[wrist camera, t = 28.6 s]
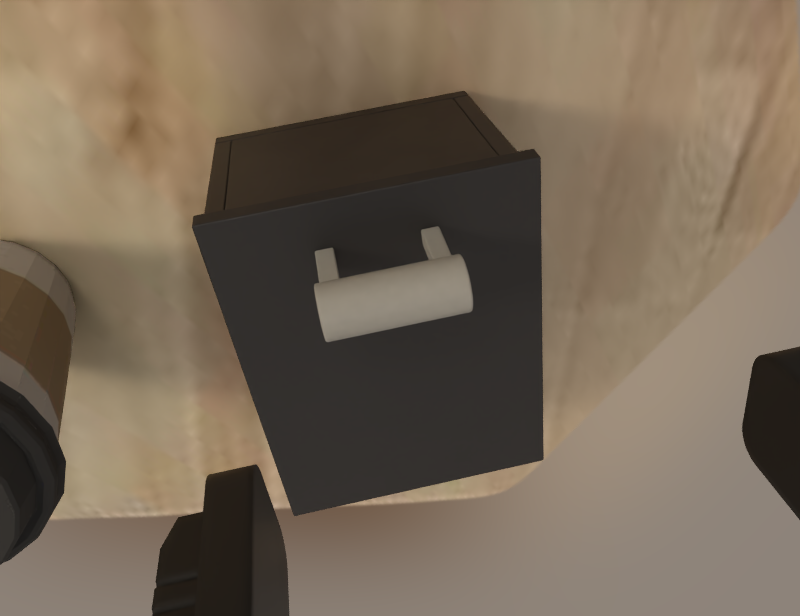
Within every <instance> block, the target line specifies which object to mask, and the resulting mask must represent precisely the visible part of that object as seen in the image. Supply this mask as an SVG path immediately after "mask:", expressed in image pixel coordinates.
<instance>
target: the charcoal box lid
mask: <svg viewBox="0 0 800 616" xmlns="http://www.w3.org/2000/svg"><path fill="white" fill-rule="evenodd" d="M192 228H193V231H194V234H195V237H196V240H197V242H198V245H199V248H200V251H201V254H202V257H203V259H204V262H205V265H206V268H207V271H208V274H209V276H210V279H211V282H212V285H213V288H214V291H215V293H216V296H217V299H218V302H219V305H220V308H221V310H222V313H223V316H224V319H225V322H226V325H227V327H228V330H229V333H230V336H231V339H232V342H233V345H234V347H235V350H236V353H237V356H238V359H239V362H240V364H241V367H242V370H243V373H244V376H245V379H246V381H247V384H248V387H249V390H250V393H251V396H252V398H253V401H254V404H255V407H256V410H257V413H258V415H259V418H260V421H261V424H262V427H263V430H264V432H265V435H266V438H267V441H268V444H269V447H270V449H271V452H272V455H273V458H274V461H275V464H276V466H277V469H278V472H279V475H280V478H281V481H282V483H283V486H284V489H285V492H286V495H287V498H288V500H289V503H290V506H291V509H292V512H293V514H294V516H297V515H301V514H306V513H310V512H315V511H319V510H323V509H327V508H332V507H337V506H341V505H346V504H350V503H355V502H359V501H364V500H368V499H372V498H377V497H381V496H386V495H390V494H395V493H399V492H403V491H408V490H412V489H417V488H421V487H426V486H430V485H434V484H439V483H443V482H448V481H452V480H457V479H461V478H466V477H470V476H474V475H479V474H483V473H488V472H492V471H497V470H501V469H505V468H510V467H514V466H519V465H523V464H528V463H532V462H536V461H541V460H543V363H542V260H541V158H540V156H539V155H538V154H537V152H536V151H535V150H534V149H530V150H525V151H520V152H514V153H509V154H504V155H499V156H494V157H489V158H484V159H479V160H474V161H469V162H464V163H459V164H454V165H449V166H444V167H439V168H434V169H428V170H423V171H418V172H413V173H408V174H403V175H398V176H393V177H388V178H383V179H378V180H373V181H368V182H363V183H358V184H353V185H348V186H343V187H337V188H332V189H327V190H322V191H317V192H312V193H307V194H302V195H297V196H292V197H287V198H282V199H277V200H272V201H267V202H262V203H257V204H251V205H246V206H241V207H236V208H231V209H226V210H221V211H216V212H211V213H206V214H201V215H196V216H194V217H193V224H192Z"/></svg>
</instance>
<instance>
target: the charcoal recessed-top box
mask: <svg viewBox="0 0 800 616" xmlns="http://www.w3.org/2000/svg"><path fill="white" fill-rule="evenodd" d="M514 152H517V151H516V149H515V148H514V147H513V146H512V145H511V144H510V143H509V141H508V140H507V139H506V138H505V137H504V136H503V135H502V133H501V132H500V131H499V130H498V129H497V128H496V127H495V125H494V124H493V123H492V122H491V121H490V120H489V118H488V117H487V116H486V115H485V114H484V113H483V112H482V110H481V109H480V108H479V107H478V106H477V105H476V104H475V102H474V101H473V100H472V99H471V98H470V97H469V96H468V94H467V93H466V92H465V91H461V92H456V93H451V94H446V95H440V96H435V97H430V98H425V99H420V100H414V101H409V102H404V103H399V104H393V105H388V106H383V107H378V108H373V109H367V110H362V111H357V112H352V113H346V114H341V115H336V116H331V117H326V118H320V119H315V120H310V121H305V122H299V123H294V124H289V125H284V126H278V127H273V128H268V129H263V130H258V131H252V132H247V133H242V134H237V135H231V136H226V137H221V138H217V139H216V143H215V150H214V156H213V162H212V169H211V175H210V182H209V188H208V194H207V201H206V207H205V214H206V213H211V212H216V211H221V210H226V209H231V208H236V207H241V206H246V205H251V204H257V203H262V202H267V201H272V200H277V199H282V198H287V197H292V196H297V195H302V194H307V193H312V192H317V191H322V190H327V189H332V188H337V187H343V186H348V185H353V184H358V183H363V182H368V181H373V180H378V179H383V178H388V177H393V176H398V175H403V174H408V173H413V172H418V171H423V170H428V169H434V168H439V167H444V166H449V165H454V164H459V163H464V162H469V161H474V160H479V159H484V158H489V157H494V156H499V155H504V154H509V153H514Z"/></svg>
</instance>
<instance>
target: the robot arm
mask: <svg viewBox="0 0 800 616" xmlns="http://www.w3.org/2000/svg"><path fill="white" fill-rule="evenodd" d="M742 432H743V438H744V442H745V446H746V448H747V451H748V453H749V455H750V457H751V459H752V460H753V462H754V463H755V465H756V466H757V467H758V468H759V470H760V471H761V472H762V473H763V475H764V476H765V477H766V478H767V479H768V481H769V482H770V483H771V485H772V486H773V487H774V488H775V490H776V491H777V492H778V493H779V495H780V496H781V497H782V498H783V500H784V501H785V502H786V503H787V505H788V506H789V507H790V508H791V510H792V511H793V512H794V513H795V515H796V516H797V517H798V518H799V520H800V347H796V348H791V349H787V350H783V351H778V352H773V353H769V354H765V355H760V356H758V357H757V358H756V359H755V361H754V363H753V367H752V373H751V378H750V384H749V390H748V396H747V401H746V407H745V413H744V419H743V426H742ZM156 585H157V587H156V588H155V590H154V598H153V605H152V611H153V616H289V596H288V571H287V559H286V551H285V546H284V540H283V536H282V532H281V529H280V525H279V522H278V520H277V517H276V514H275V511H274V508H273V505H272V503H271V500H270V497H269V494H268V491H267V488H266V486H265V483H264V480H263V477H262V474H261V472H260V469H259V467H258V466H257V465H251V466H247V467H242V468H237V469H233V470H228V471H224V472H219V473H215V474H210V475H208V476H207V479H206V484H205V496H204V508H203V512H200V513H196V514H191V515H187V516H182V517H178V519H177V520H176V522H175V524H174V526H173V528H172V529H171V531H170V533H169V535H168V537H167V538H166V540H165V542H164V543H163V545H162V547H161V549H160V555H159V562H158V569H157V576H156Z"/></svg>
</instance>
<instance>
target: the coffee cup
mask: <svg viewBox="0 0 800 616" xmlns="http://www.w3.org/2000/svg"><path fill="white" fill-rule="evenodd" d="M75 318H76V307H75V304H74V298H73V295H72V292H71V289H70V286H69V283H68V281H67V280H66V278H65V277H64V276H63V275H62V273H61V272H60V271H59V269H58V268H57V267H56V265H54V264H53V263H52V262H50V261H49V260H48V259H46V258H45V257H44V256H42V255H41V254H40V253H38V252H36V251H34V250H32V249H29V248H27V247H24V246H22V245H20V244H17V243H14V242H7V241H1V240H0V564H2V563H3V562H6V561H8V560H10V559H12V558H13V557H14V556H15V555H16V554H18V553H19V552H20V551H22V550H23V549H24V548H25V547H27V546H28V545H29V544H30V543H32V542H33V541H34V540H36V539H37V538H38V537H39V535H40V534H41V532H42V530H43V529H44V527H45V525H46V523H47V522H48V520H49V518H50V516H51V515H52V513H53V511H54V509H55V508H56V506H57V504H58V502H59V501H60V499H61V497H62V495H63V494H64V484H65V468H66V460H65V457H64V455H63V452H62V450H61V447H60V445H59V442H58V440H59V433H60V426H61V419H62V413H63V406H64V399H65V392H66V385H67V378H68V371H69V365H70V358H71V351H72V344H73V337H74V330H75Z"/></svg>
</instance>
